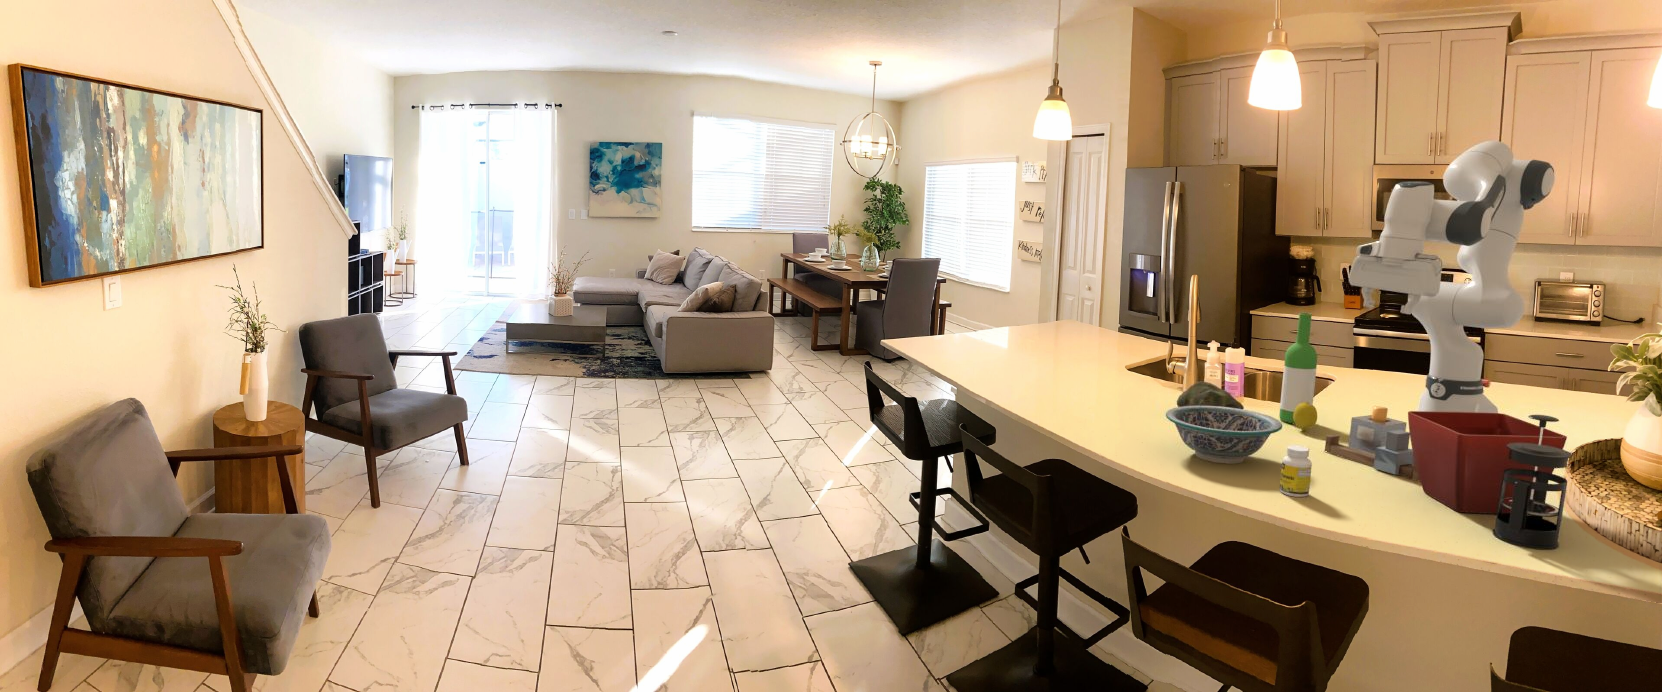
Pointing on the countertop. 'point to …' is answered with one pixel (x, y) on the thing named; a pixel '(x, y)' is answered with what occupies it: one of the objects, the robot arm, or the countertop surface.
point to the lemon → (1305, 416)
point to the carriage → (1394, 452)
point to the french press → (1519, 522)
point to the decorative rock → (1207, 396)
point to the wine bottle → (1298, 371)
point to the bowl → (1222, 431)
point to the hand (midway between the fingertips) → (1386, 310)
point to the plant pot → (1471, 456)
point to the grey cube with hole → (1371, 432)
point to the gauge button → (1379, 414)
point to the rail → (1363, 456)
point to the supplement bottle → (1296, 472)
